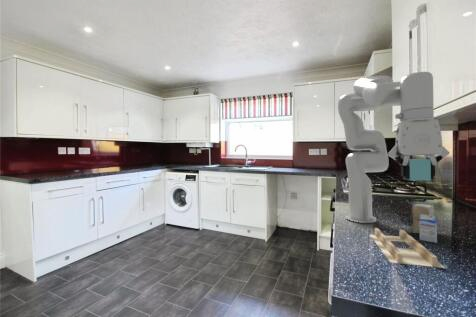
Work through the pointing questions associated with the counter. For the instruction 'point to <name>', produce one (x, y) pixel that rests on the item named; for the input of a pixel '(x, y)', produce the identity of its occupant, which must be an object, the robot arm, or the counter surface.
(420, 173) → the block
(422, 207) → the box
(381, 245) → the channel
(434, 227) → the medicine box
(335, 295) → the counter surface
